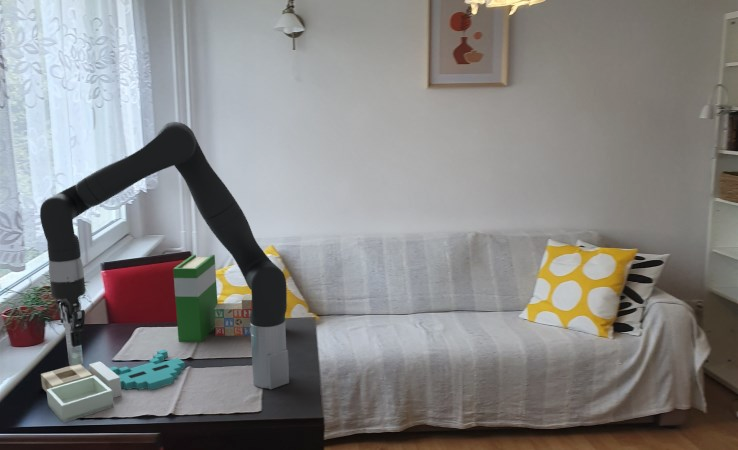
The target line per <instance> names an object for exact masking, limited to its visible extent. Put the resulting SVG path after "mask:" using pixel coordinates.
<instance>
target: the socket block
mask: <svg viewBox="0 0 738 450" xmlns="http://www.w3.org/2000/svg"><path fill="white" fill-rule="evenodd" d="M91 376H92V374H91V373H90V370H88V369H86V368H85V367H84V366H83V365H82V363H81V364H79V365H69V366H65V367H61V368H58V369H55V370H51V371H47V372H43V373H40V378H41V379H40V381H41V388H42V389H43V390H44V391H45V392H46V393H47V389H50V388H53V387H57V386H60V385H64V384H67V383H71V382H74V381H78V380H81V379H85V378H88V377H91Z"/></svg>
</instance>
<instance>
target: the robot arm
mask: <svg viewBox="0 0 738 450" xmlns="http://www.w3.org/2000/svg"><path fill="white" fill-rule="evenodd" d="M200 146H201V145H200V143H199V142H198V139H197V138H196V135H195V133H194V131H193V130H192V129H191V128H190V127H189V126H188V125H186V124H184V123H182V122H179V121H170V122H168V123H165V124H164V125H163V126H162V127H161V128H160V130H159V131H158V133H157V134H156V136H155V137H154V138H153V139H152V140H150V141H149V142H148V143H147V144H146V145H144V146H143V147H142V148H140V149H138V150H137V151H135V152H134V153H132V154H130V155H128V156H125V157H124V158H121V159H120V160H116V161H114V162H112V163H109V164H108V165H105V166H104V167H101V168H100V169H98V170H96V171H94V172H93V173H90V174H89V175H87V176H86V177H83V178H82V179H81V180H79V181H78V182H76V183H75V184H73V185H72V186H70V187H68V188H66V189H64V190H62V191H59V192H58V193H55V194H53V195H52V196H50V197H48V198H47V199H45V200H44V201H43V202H42V204H41V206H40V211H39V217H40V218H39V219H40V223H41V224H40V225H41V228H42V230H43V234H44V237H45V240H46V242H47V243H46V244H47V254H48V273H49V283H50V291H51V297H52V299H55V300H56V306H57V310H58V315H59V318H60V323H61V324H63V328H64V329H65V324H64V321H66V323H68V324H69V328H70V335H71V345H72V346H73V347H76V346H80V345H81V346H82V334H81V331H84V330H85V319H86V317H85V316H86V312H85V310H84V309H82V303H81V301H80V300H79V298H80V297H81V296H83V295H84V294H86V283H85V281H86V280H85V272H84V266H83V265H84V264H83V261H82V255H81V246H80V239H79V237H78V235H76V234H75V229H74V223H73V222H74V219H75V218H77V217H78V216H80V215H81V214H83V213H85V212H87V211H88V210H89V209H91V208H92V207H97V206H98V205H101V204H102V203H104V202H106V201H108V200H110V199H111V198H113V197H115V196H116V195H118V194H119V193H122V192H123V191H124V190H127V189H128V188H130V187H131V186H133V185H134V184H136V183H138V182H140V181H141V180H143V179H146V178H148V177H149V176H151V175H153V174H155V173H157V172H160V171H162V170H165V169H167V168H171V167H173V166H174V167H175V169H176V170H177V171H178V172H179V174H180V175H181V176H182V178H183V180H184V181H185V183H186V186H187V187H188V190H189V192H190V194H191V197H192V199H193V201H194V203H195V206H196V208H197V209H198V212H199V213H200V215H201V217H202V219H203V220H204V222H205V223H206V225H207V226H208V227H209V229H210V231H211V233H212V234H213V235H214V236H215V237H216V238H217V240H218V241H219V243H221V245H222V246H223V247H224V248H225V249H226V251H228V253H229V254H230V255H231V256H232V257H233V259H234V261H235V263H236V265H237V267H238V268H239V270H240V272H241V274H242V277H243V278H244V281H245V284H246V285H247V287H248V288H249V290H251V294H252V311H251V313H250V326H251V335H250V343H251V363H252V364H251V365H252V379H253V385H255V386H256V387H257V388H262V389H269V390H273V389H277V388H278V387H282V386H285V385H286V384H289V383H290V371H289V366H290V365H289V350H288V349H287V336H286V312H287V305H288V303H287V301H288V298H287V297H288V296H287V293H288V292H287V281H286V276H285V273H284V272H283V270H282V269H281V268H279V266H278V265H276V264H275V263H274V262H272V260H271V259H270V258H269V257H268V255H267V254H266V253H265V252H264V250H263V249H262V248H261V246H260V245H259V243H258V242H257V241H256V238H255V235H254V234H253V231H252V228H251V226H250V224H249V222H248V219H247V217H246V215H245V213H244V211H243V210H242V207H241V206H240V205H239V204H238V202H237V200H236V198H235V197H234V196H233V195H232V192H230V190H229V189H228V187H227V186H226V184H225V183H224V182H223V180H222V179H221V177H219V175H218V174H217V173H216V172H215V170H214V169H213V167H212V166H211V164H210V163H209V161H208V160H207V158H206V156H205V154H204V152H203V150H202V148H201V147H200ZM70 319H71V320H70ZM76 325H78V326H76Z"/></svg>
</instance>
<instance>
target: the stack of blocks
mask: <svg viewBox="0 0 738 450" xmlns="http://www.w3.org/2000/svg"><path fill="white" fill-rule="evenodd" d="M251 311H252V293H251V294H250V293H247V294H246V293H244V295H243V296H242V299H241V302H240V303H239V302H228V303H226V302H224V303H223V302H220V303H218V304H217V305H216V307H215V309H214V318H215V327H214V329H215V331H214V332H215V336H219V337H221V336H223V337H224V336H226V337H229V336H234V337H235V336H236V337H238V336H239V337H240V336H242V337H243V336H251V326H250V313H251Z"/></svg>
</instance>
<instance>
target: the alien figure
mask: <svg viewBox="0 0 738 450" xmlns="http://www.w3.org/2000/svg"><path fill="white" fill-rule="evenodd" d="M156 352H157V354H153V355H152V358H151V359H148V360H149V362H148V363H145V364H141V365H138V366H135V367H128V366H126V365H125V366H122V367H120V368H119V367H117V366H112V367H108V368H109V369H110V370H112V371H113V372H114V373H115V374H117V375H118V376H119V377H120V382H121V389H123V388H124V389H125V390H131V389H135V388H136V389H137V390H138V391H139V390H143V389H148V390H149V391H151V390H154V389H158V388H161V387H164V386H167V385H170V384H173V383H175V381H174V379H177V378H178V375H179V374H182V370H183V369H185V368H186V365H185V363H186V362H185V361H183V360H182V359H180V358H178V357H175V358H173V359H168V360H167V361H165V358H168V357H169V355H168V351H167V350H166V349H160V350H157V351H156Z"/></svg>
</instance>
